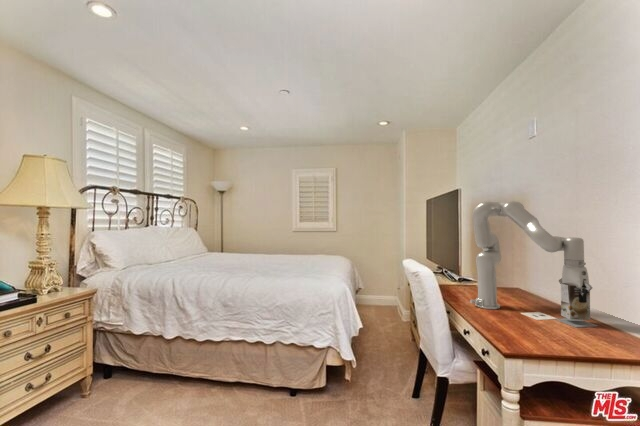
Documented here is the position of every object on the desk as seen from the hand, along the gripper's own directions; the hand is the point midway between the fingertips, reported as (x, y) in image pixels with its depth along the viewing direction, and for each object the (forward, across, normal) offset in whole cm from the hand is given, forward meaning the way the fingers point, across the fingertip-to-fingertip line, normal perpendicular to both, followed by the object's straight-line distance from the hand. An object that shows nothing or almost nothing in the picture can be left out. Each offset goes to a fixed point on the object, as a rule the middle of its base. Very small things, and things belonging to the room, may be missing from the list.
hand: (575, 300), depth 147 cm
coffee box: (+9, 0, 0) cm, 9 cm away
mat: (+11, 0, 0) cm, 11 cm away
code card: (+11, +12, +9) cm, 18 cm away
